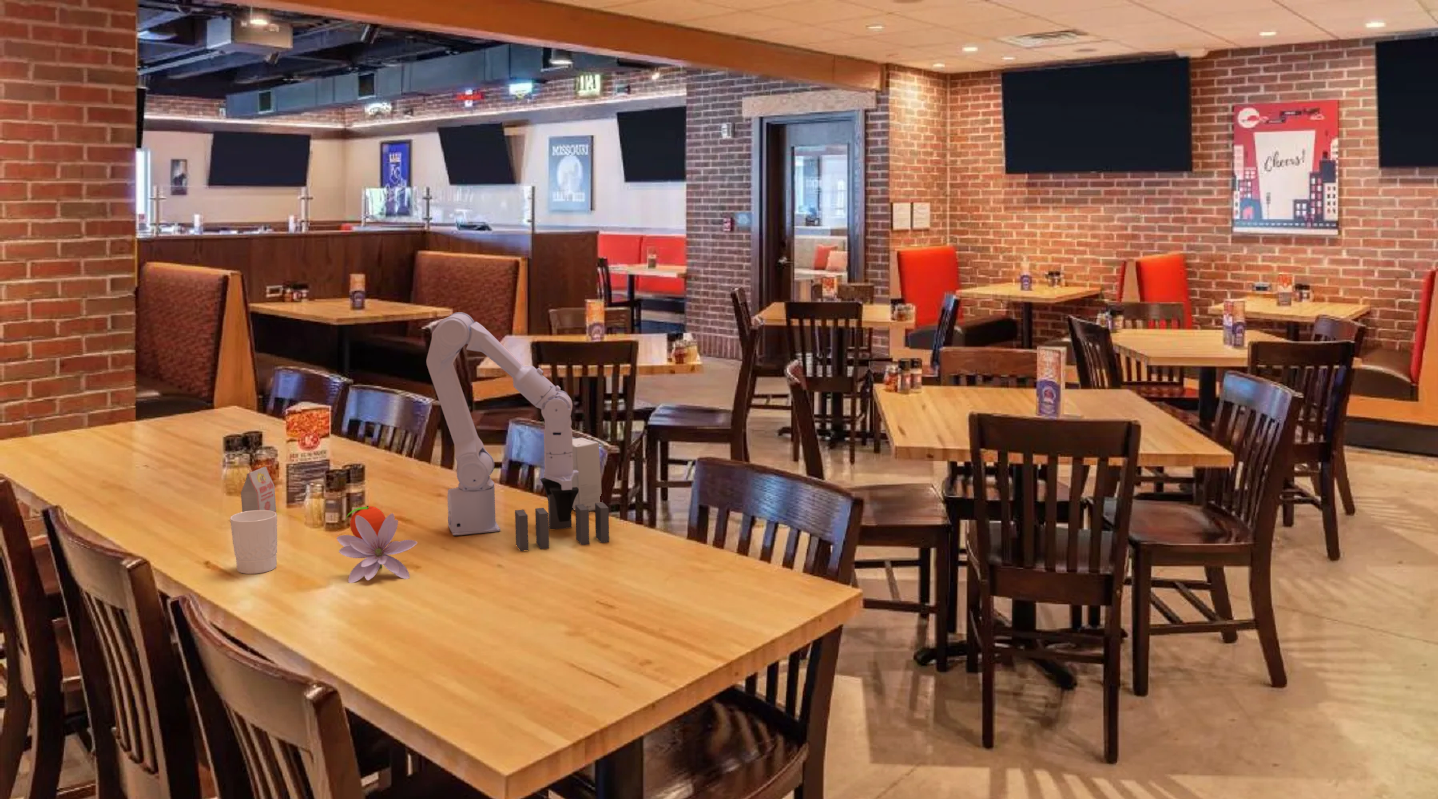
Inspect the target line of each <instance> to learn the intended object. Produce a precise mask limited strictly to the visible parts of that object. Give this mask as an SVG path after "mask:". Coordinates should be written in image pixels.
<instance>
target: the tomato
mask: <svg viewBox="0 0 1438 799" xmlns="http://www.w3.org/2000/svg"><path fill="white" fill-rule="evenodd" d="M352 513H353V514H352ZM351 514H352V516H351V517H350V522H349V527H350V531H351V533H352V536H355V537H358V538H360V539H362V540H363V538H362V537H361V535H360V533H359V532H358V530H357V527H356V523H355V518H356V516H357V515H358V516H361V517H363V518H364V519H366V520H367V521H368V522H369V524H370V525H371V527H372V528H373V530H374V531H375V533H376V535H377V537H378V532H379V530H380V528H381V526H382V524H383V522H384V520H385V519H386V516H385V514H384V513H383V511H382V510H381V509H379V508H377V507H376V506H371V505H366V506H361V507H357V508H355V509H353V510H351V511H350V512H349V513H347V515H346V516H345V519H344V521H346V519H347V517H349V516H350V515H351Z"/></svg>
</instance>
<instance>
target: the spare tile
mask: <svg viewBox="0 0 1438 799" xmlns="http://www.w3.org/2000/svg"><path fill="white" fill-rule="evenodd" d="M547 507H548V509H547V510H548V511H547V513H548V526H549V530H550V529H555V530H564V529H572V528H573V526H572V516H571V517H570V520H569V521H565V522H559V520H558V516H557V510H556V505H555V501H554V498H553V495H552V494H551V495H548V499H547Z"/></svg>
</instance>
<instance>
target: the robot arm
mask: <svg viewBox="0 0 1438 799" xmlns="http://www.w3.org/2000/svg"><path fill="white" fill-rule="evenodd" d="M466 345H467V346H466ZM464 346H466V348H465V349H466V351H473V352H481V353H482V354H484V355H485V356H486V357H487V358H489V359H490V360H491V361H493V363H494V364H496V365H497V366H498V367H500V369H502V370H503V371H504V372H505V373H507V374H508V375H509V376H510V377H511V378H512V386H513V388H514V389H515V390H516V391H518V392H519V393H520V394H521V395H522V397H524V398H525V399H526V400H527V401H528V402H530V403H531V404H532V405H533V406H535V408H538V409H540V410H541V412H540V413H541V416H542V417H543V419H544V429H543V446H544V448H543V452H544V472H543V477H541V478H540V479H539V480H540V482H541V484H542V486H543V488H544V491H545V495H546V498H547V500H548V495H551V494H552V495H553V498H554V501H555V505H556V510H557V516H558V520H559V522H565V521H569V520H570V517H571V518H572V511H573V509H572V507H573V503H574V500H575V497H576V495H577V494H578V491H579V489H578V488H577V487H572V479H573V477H574V476H576V475H579V472H578V471H577V470H573V444H572V439H573V428H572V424H573V423H572V421H573V420H572V417H571V415H572V411H573V401H572V398H571V397H570V396H569V394H568V392H567V391H564V390H561V387H560V386H559V385H554V384H553V383H552V382H551V381H550V380H549V379H548V378H547V377H546V376H545V375H543V373H544V370H543V369H542V368H541V367H538V368H536V367H535V366H534V365H523V363H521V362H520V361H519V360H518V359H517V358H516V357H515V356H514V355H513V354H512V353H511V352H510V351H509V350H508V349H507V348H506V347H505V346H504V345H503V344H502V343H501V342H500V340H498V339H497V338H496V337H495V336H494V335H493V334H492V333H491V332H490V331H489V330H488V329H486V328H485V327H484V326H483V324H481V323H479V322H478V321H475V320H474V319H473V318H472V316H470V315H469V314H468V313H465V312H462V311H461V312H454V313H452V314H450V315H449V316H448V317H445V318H443V319H442V320H441V321H440V322H439V323H438V325H437V326H436V327H435V329H434V330H433V331H432V334H431V340H430V345H429V348H428V351H427V352H428V353H427V356H426V362H425V363H426V366H427V369H428V370H427V371H428V373H429V375H430V378H431V382H432V384H433V387H434V389H435V393H436V396H437V399H438V401H439V404H440V406H441V407H440V408H441V410H442V413H443V415H444V419H445V422H446V426H447V427H448V429H449V434H450V435H451V439H452V442H453V445H454V455H455V456H454V457H455V460H456V464H457V467H456V468H457V469H456V479H457V481H458V484H457V486H458V487H452V488H449V489H448V490H447V514H448V515H447V526H448V528H449V530H450V532H451V534H452V535H453V536H462V535H474V534H484V533H494V532H500V531H501V528H500V526H499V525H498V523H497V521H496V500H495V499H496V497H495V496H496V494H495V482H494V480H492V477H491V475H492V474H493V472H494V470H495V469H494V468H495V461H494V457H493V456H492V455H491V454H490V453H489V452H488V451H487V449H486V447H485V446H484V443H483V441H482V439H480V437H479V435H478V433H477V429H476V427H475V423H474V420H473V418H472V415H471V412H470V409H469V407H468V403H467V400H466V397H465V394H464V392H463V389H462V386H461V382H460V380H459V377H458V374H457V371H456V368H455V365H454V363H455V362H456V359H457V357H458V355H459V353H460V352H461V350H462V348H463V347H464Z"/></svg>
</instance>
